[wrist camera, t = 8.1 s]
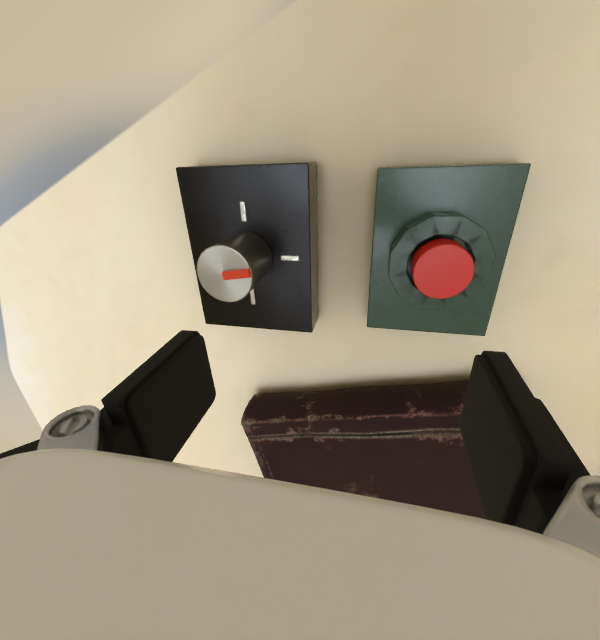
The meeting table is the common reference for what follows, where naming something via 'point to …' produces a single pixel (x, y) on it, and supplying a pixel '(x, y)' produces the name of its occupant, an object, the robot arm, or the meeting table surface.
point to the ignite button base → (441, 222)
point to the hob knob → (234, 266)
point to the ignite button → (442, 268)
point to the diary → (369, 443)
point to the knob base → (266, 221)
